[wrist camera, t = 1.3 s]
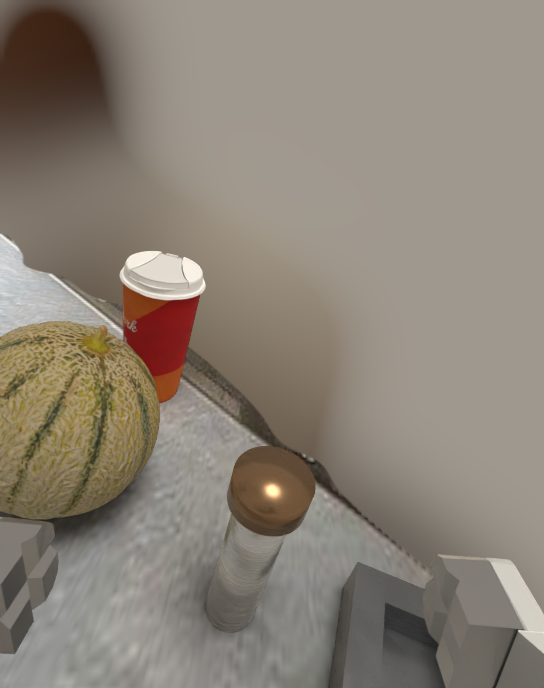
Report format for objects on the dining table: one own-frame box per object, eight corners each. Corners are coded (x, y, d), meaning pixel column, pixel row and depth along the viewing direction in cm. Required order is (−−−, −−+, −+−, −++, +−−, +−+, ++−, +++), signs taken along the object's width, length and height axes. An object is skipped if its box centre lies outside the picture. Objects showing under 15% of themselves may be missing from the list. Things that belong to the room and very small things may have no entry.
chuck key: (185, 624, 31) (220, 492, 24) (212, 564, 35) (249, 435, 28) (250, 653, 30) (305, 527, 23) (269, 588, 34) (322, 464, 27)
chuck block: (321, 735, 27) (339, 713, 26) (343, 586, 36) (357, 561, 34) (533, 834, 26) (568, 817, 24) (503, 654, 34) (527, 631, 32)
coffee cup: (125, 359, 54) (134, 242, 46) (193, 372, 55) (213, 260, 47) (101, 402, 47) (107, 273, 39) (179, 418, 48) (199, 294, 40)
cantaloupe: (-81, 479, 35) (-124, 316, 27) (81, 400, 46) (83, 269, 39) (33, 606, 30) (19, 447, 22) (185, 481, 41) (212, 347, 33)
